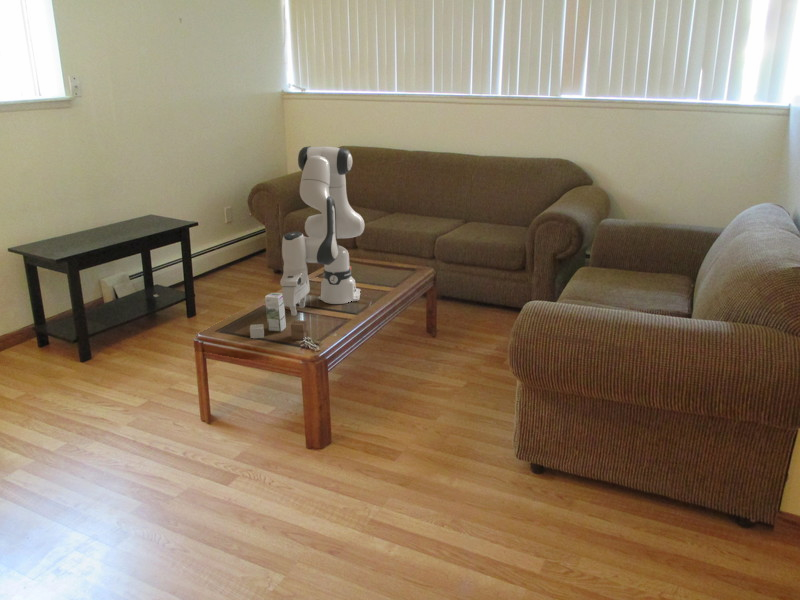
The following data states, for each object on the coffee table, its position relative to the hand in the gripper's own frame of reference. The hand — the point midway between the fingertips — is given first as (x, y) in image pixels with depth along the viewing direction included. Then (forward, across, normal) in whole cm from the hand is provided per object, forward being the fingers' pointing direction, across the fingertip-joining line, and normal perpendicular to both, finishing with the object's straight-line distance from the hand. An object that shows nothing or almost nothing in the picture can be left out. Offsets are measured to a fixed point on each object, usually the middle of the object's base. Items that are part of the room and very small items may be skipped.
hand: (298, 311), depth 259 cm
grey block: (+11, 0, -17) cm, 20 cm away
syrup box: (+11, -8, -12) cm, 18 cm away
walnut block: (+11, -1, 0) cm, 11 cm away
